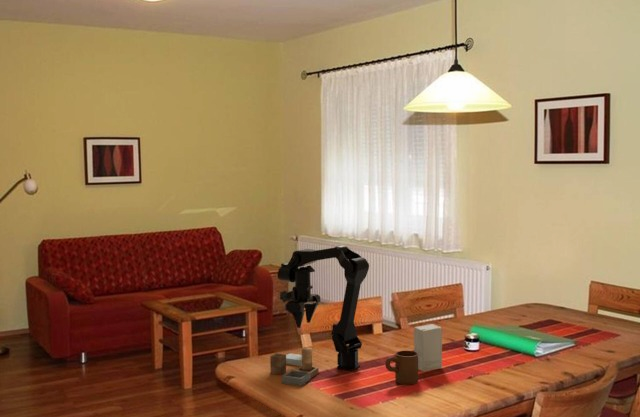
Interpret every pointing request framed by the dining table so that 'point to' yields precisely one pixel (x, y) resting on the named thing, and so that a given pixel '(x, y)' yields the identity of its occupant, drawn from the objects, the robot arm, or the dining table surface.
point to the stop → (278, 364)
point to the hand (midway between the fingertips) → (303, 325)
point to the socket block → (314, 371)
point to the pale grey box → (294, 359)
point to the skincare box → (428, 346)
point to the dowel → (307, 359)
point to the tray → (296, 377)
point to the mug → (404, 367)
